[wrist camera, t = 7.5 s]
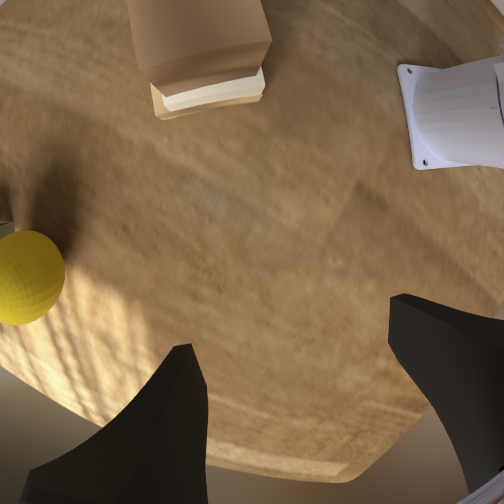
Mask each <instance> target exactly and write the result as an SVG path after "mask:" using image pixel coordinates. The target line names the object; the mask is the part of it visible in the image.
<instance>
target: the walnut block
mask: <svg viewBox="0 0 504 504" xmlns="http://www.w3.org/2000/svg"><path fill="white" fill-rule="evenodd" d="M127 5H128V12H129V19H130V25H131V31H132V37H133V43H134V48H135V54H136V59H137V65H138V70H139V72H140V73H141V74H142V75H143V76H144V77H145V78H146V79H147V80H148V81H149V82H150V83H151V84H152V85H153V86H154V87H156V88H157V89H158V90H159V91H160V92H161V93H162V94H163V95H164V96H165V97H169V96H172V95H176V94H179V93H183V92H186V91H190V90H194V89H197V88H201V87H205V86H209V85H214V84H218V83H222V82H227V81H232V80H236V79H241V78H247V77H252V76H256V75H257V73H258V71H259V68H260V66H261V64H262V62H263V59H264V57H265V55H266V53H267V51H268V49H269V46H270V44H271V42H272V37H271V33H270V30H269V27H268V23H267V20H266V17H265V14H264V10H263V7H262V4H261V1H260V0H127Z"/></svg>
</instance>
